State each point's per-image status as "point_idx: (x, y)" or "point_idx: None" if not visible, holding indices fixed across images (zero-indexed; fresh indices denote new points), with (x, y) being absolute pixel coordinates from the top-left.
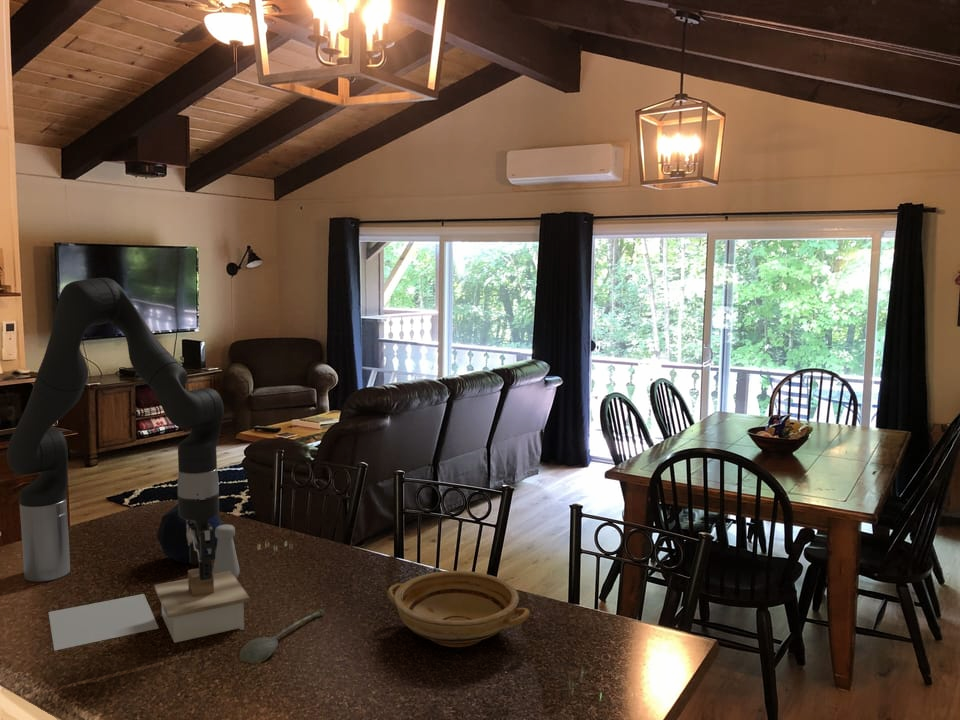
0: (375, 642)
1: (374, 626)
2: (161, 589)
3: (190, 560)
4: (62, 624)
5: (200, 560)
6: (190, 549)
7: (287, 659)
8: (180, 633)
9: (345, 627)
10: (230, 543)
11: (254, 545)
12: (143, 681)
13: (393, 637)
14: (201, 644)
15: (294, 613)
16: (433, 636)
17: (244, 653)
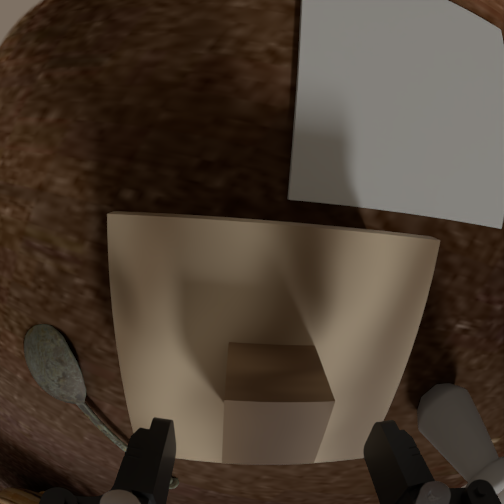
0: (59, 470)
1: (104, 492)
2: (384, 253)
3: (385, 432)
4: (439, 14)
5: (57, 494)
6: (404, 477)
7: (28, 382)
8: None
9: (112, 477)
10: (462, 473)
11: (500, 435)
12: (37, 115)
13: (69, 485)
14: None
15: (200, 462)
16: (6, 488)
17: (40, 337)
